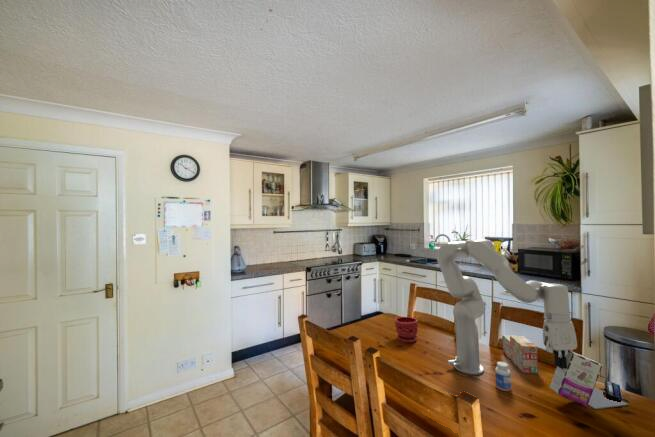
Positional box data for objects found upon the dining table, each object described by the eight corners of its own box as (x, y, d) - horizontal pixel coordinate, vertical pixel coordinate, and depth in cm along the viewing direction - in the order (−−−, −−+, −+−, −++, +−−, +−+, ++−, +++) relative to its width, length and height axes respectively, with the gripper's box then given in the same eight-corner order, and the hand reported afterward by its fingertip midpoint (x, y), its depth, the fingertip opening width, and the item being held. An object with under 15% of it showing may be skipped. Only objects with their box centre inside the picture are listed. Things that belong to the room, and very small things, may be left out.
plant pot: (420, 337, 169) (420, 317, 170) (414, 345, 158) (414, 324, 159) (399, 333, 176) (399, 314, 177) (392, 341, 165) (392, 320, 166)
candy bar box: (575, 399, 106) (591, 359, 107) (587, 407, 101) (604, 365, 102) (547, 386, 107) (563, 347, 107) (557, 394, 102) (574, 353, 102)
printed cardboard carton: (502, 352, 147) (501, 328, 148) (515, 353, 146) (514, 329, 147) (523, 372, 126) (521, 345, 127) (538, 373, 125) (537, 346, 126)
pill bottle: (492, 384, 118) (491, 361, 118) (504, 383, 118) (503, 360, 118) (502, 391, 112) (500, 367, 113) (514, 390, 113) (513, 366, 113)
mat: (595, 409, 100) (595, 408, 100) (565, 392, 111) (565, 390, 111) (628, 405, 102) (628, 404, 102) (595, 388, 113) (595, 387, 113)
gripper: (548, 321, 100) (552, 373, 99) (584, 318, 102) (588, 369, 101) (531, 315, 108) (534, 364, 107) (565, 313, 110) (568, 360, 109)
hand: (560, 366), depth 104 cm, fingers closed
